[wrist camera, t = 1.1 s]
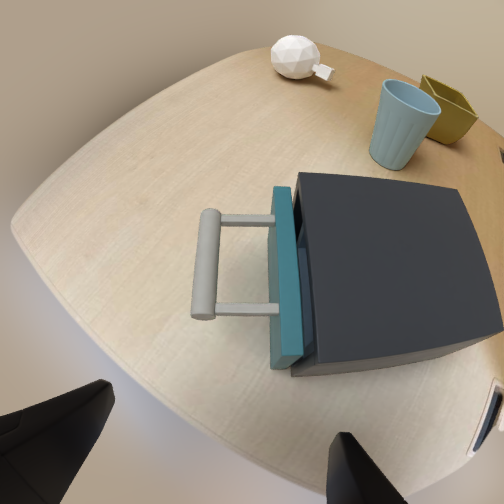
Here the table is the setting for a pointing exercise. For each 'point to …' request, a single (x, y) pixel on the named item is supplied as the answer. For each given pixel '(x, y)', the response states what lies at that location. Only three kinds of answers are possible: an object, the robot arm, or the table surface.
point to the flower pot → (448, 111)
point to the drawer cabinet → (389, 273)
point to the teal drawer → (280, 278)
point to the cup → (401, 123)
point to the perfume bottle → (298, 58)
